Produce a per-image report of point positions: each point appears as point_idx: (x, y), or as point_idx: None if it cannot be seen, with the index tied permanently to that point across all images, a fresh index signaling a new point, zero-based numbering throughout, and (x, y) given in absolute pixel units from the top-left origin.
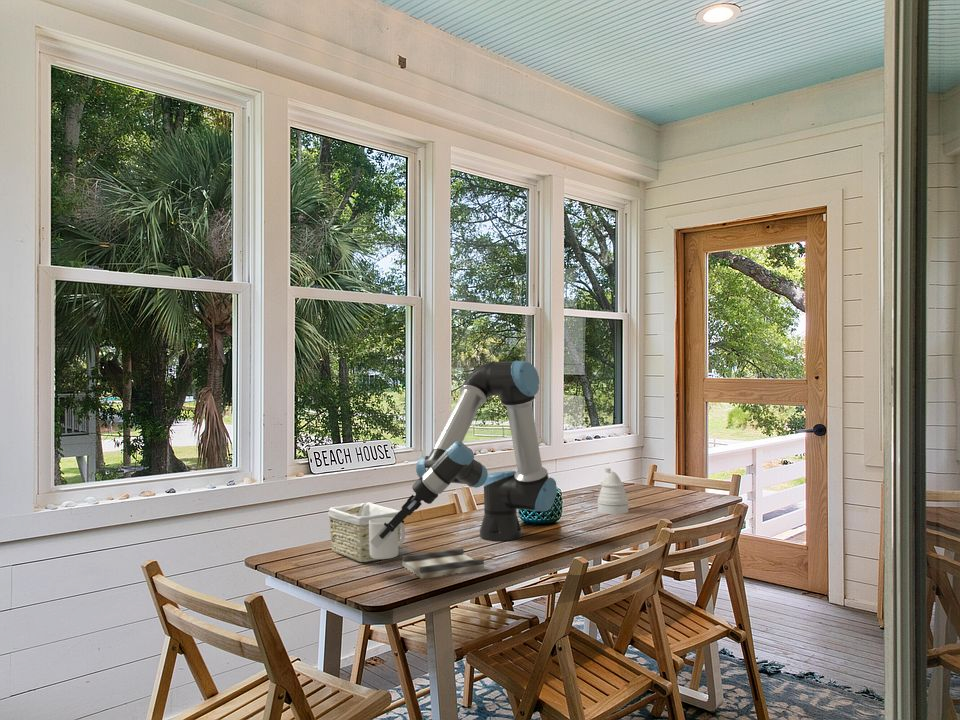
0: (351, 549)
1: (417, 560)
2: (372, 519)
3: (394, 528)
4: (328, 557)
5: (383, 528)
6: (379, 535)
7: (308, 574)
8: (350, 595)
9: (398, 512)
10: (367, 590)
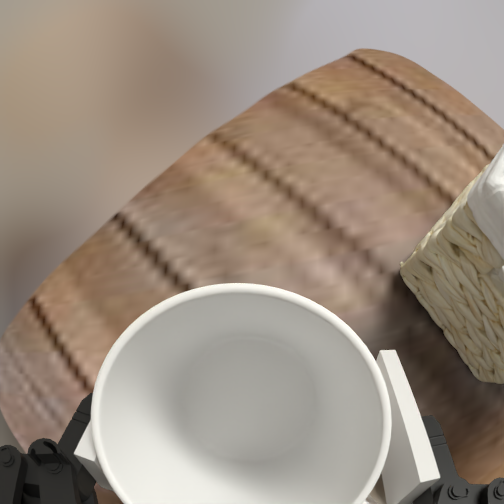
0: (445, 218)
1: (380, 487)
2: (312, 306)
3: (22, 497)
4: (439, 166)
5: (85, 433)
6: (88, 397)
7: (263, 142)
8: (44, 302)
9: (497, 492)
10: (75, 348)
